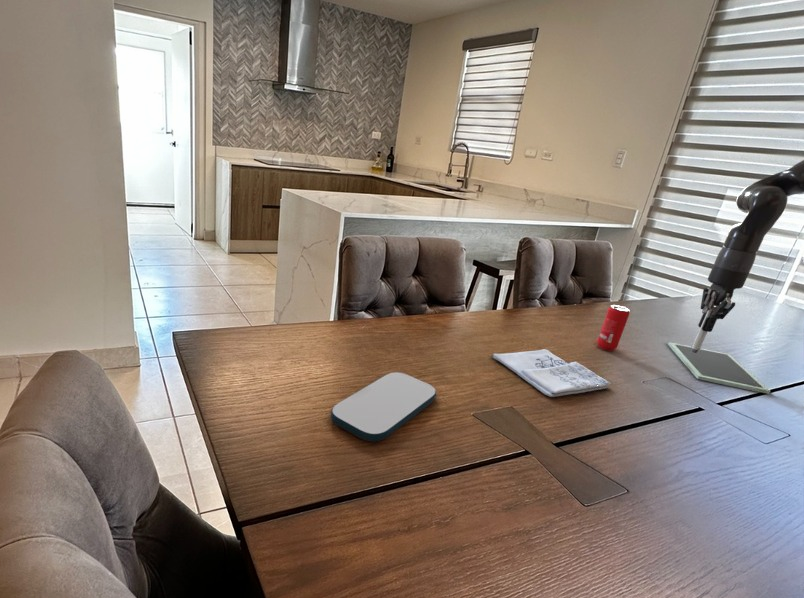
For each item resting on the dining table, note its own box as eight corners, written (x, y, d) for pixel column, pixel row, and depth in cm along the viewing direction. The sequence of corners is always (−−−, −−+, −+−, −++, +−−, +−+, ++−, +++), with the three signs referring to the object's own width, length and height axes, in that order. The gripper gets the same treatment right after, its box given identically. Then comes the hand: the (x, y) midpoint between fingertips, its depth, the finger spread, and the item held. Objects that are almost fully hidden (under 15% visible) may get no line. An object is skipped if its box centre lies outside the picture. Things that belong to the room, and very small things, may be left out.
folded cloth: (550, 400, 100) (553, 391, 100) (489, 357, 117) (491, 349, 116) (611, 389, 108) (614, 381, 107) (546, 351, 125) (548, 343, 124)
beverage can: (592, 342, 135) (606, 303, 130) (610, 344, 135) (624, 305, 130) (600, 350, 130) (615, 310, 125) (619, 352, 130) (634, 312, 125)
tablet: (728, 356, 137) (729, 353, 136) (769, 394, 116) (770, 390, 116) (667, 344, 140) (669, 341, 140) (697, 379, 119) (699, 375, 119)
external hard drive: (375, 449, 78) (376, 439, 77) (322, 420, 84) (323, 410, 83) (440, 398, 96) (442, 389, 95) (393, 376, 102) (394, 368, 101)
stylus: (696, 351, 129) (714, 310, 124) (699, 354, 127) (717, 313, 122) (689, 350, 129) (706, 309, 124) (691, 352, 127) (709, 311, 123)
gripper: (762, 276, 112) (731, 342, 119) (736, 263, 124) (709, 323, 131) (727, 270, 113) (698, 335, 120) (704, 258, 126) (679, 318, 132)
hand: (704, 329), depth 125 cm, fingers closed on stylus, 2 cm apart
